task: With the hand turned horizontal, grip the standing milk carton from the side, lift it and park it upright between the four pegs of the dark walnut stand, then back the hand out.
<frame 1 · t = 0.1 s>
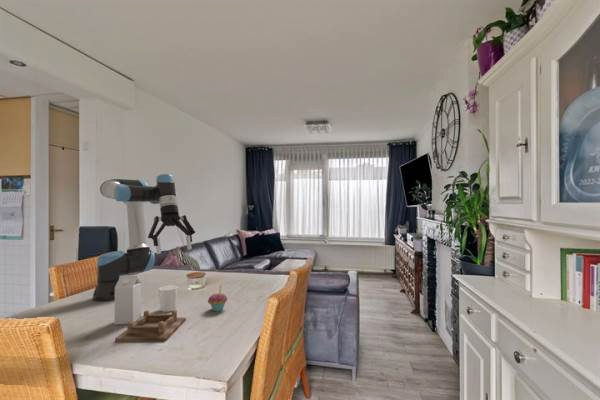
hand: (175, 251, 126), 28 cm above the table, tool tilted 20°, fingers open, 13 cm apart
cupcake: (217, 309, 130), on the table
walnut stand: (153, 330, 109), on the table
white cup: (168, 309, 131), on the table
milk carton: (128, 321, 118), on the table
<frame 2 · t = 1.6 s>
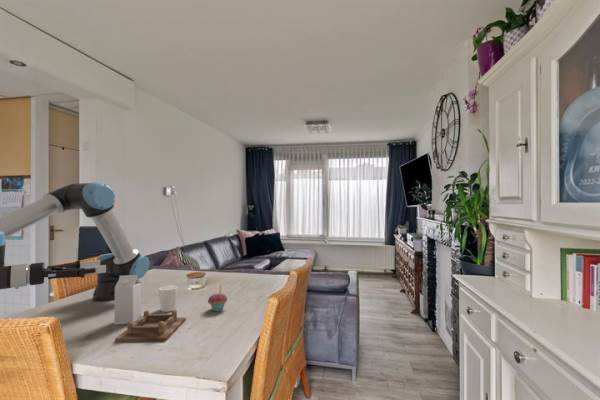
hand: (102, 266, 112), 24 cm above the table, tool horizontal, fingers open, 13 cm apart
nothing on the table moved.
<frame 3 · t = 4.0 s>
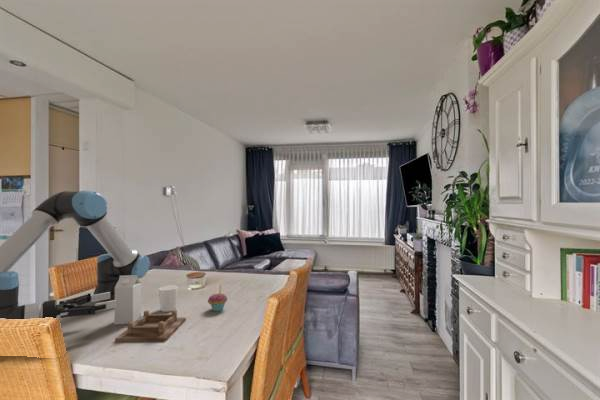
hand: (113, 299, 114), 10 cm above the table, tool horizontal, fingers open, 13 cm apart
nothing on the table moved.
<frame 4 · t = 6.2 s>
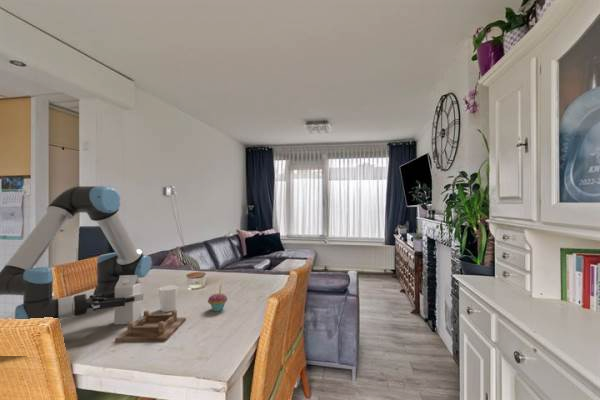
hand: (139, 293, 121), 11 cm above the table, tool horizontal, fingers closed on milk carton, 10 cm apart
milk carton: (128, 321, 118), on the table, touching gripper
everything else where it was.
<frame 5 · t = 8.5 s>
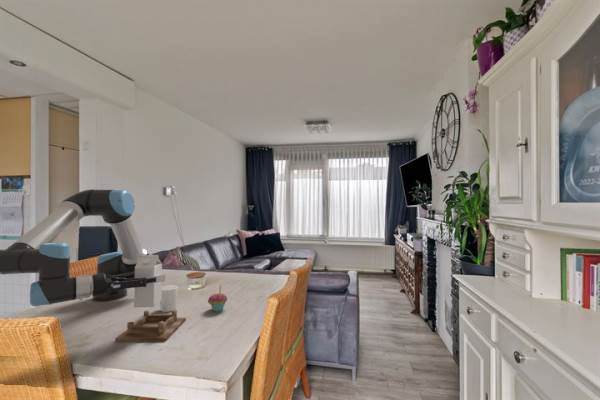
hand: (160, 275, 112), 20 cm above the table, tool horizontal, fingers closed on milk carton, 10 cm apart
milk carton: (148, 304, 109), point 10 cm above the table, touching gripper
everything else where it was.
when the fingers open (13 cm above the table, at t = 10.8 s): milk carton drops 1 cm, resting on walnut stand.
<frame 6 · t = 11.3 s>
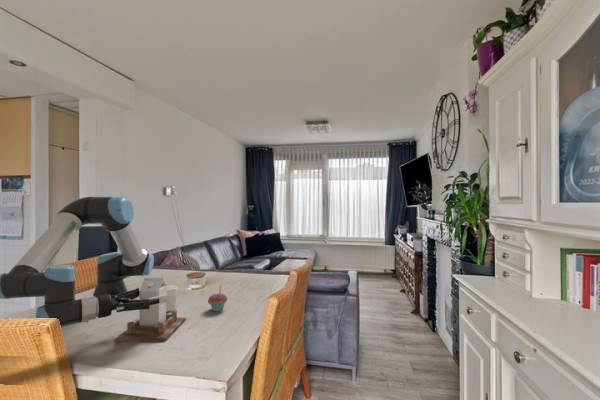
hand: (162, 294, 112), 13 cm above the table, tool horizontal, fingers open, 13 cm apart
milk carton: (153, 327, 109), point 1 cm above the table, touching walnut stand
everything else where it was.
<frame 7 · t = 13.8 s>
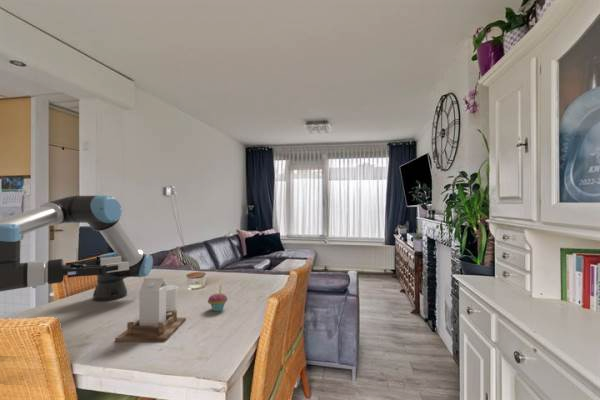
hand: (124, 262, 103), 27 cm above the table, tool horizontal, fingers open, 13 cm apart
nothing on the table moved.
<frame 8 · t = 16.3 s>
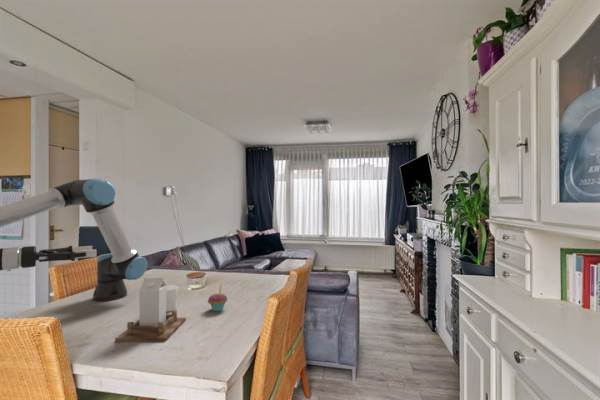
hand: (94, 250, 114), 30 cm above the table, tool horizontal, fingers open, 13 cm apart
nothing on the table moved.
at the end: milk carton 0.1 cm off-centre on the walnut stand, point 1.0 cm above the walnut stand's base; milk carton tilted 0°; the gripper is holding nothing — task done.
